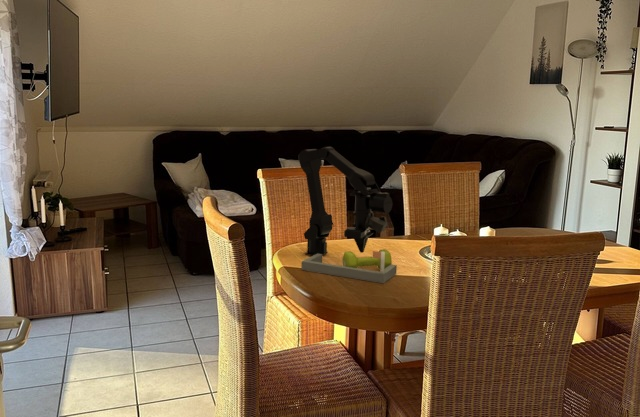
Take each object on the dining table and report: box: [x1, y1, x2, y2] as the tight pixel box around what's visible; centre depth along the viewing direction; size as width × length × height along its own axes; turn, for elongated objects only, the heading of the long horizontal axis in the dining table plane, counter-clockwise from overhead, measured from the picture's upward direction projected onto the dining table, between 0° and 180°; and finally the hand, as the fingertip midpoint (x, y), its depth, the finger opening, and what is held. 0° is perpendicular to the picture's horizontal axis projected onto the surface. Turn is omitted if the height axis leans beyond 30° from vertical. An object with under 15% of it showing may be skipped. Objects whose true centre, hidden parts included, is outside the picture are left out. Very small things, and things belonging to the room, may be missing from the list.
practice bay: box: [301, 250, 398, 284], centre depth 202 cm, size 30×12×10 cm, turn 63°
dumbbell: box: [341, 249, 393, 270], centre depth 203 cm, size 16×8×7 cm, turn 104°
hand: (361, 252), depth 211 cm, fingers closed
